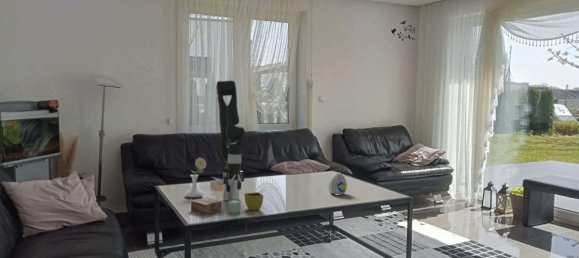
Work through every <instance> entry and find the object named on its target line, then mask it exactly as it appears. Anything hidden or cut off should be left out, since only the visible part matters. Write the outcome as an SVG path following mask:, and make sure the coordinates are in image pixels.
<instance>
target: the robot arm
mask: <svg viewBox="0 0 579 258" xmlns="http://www.w3.org/2000/svg"><path fill="white" fill-rule="evenodd" d="M236 86H237V85H236V82H235V80H234V79H224V80H223V79H222V80H218V81H217V82H216V94H217V100H218V111H219V112H218V114H219V127H220V128H219V129H220V130H219V131H220V139H221V140H220V142H221V143H220V155H221V159H222V162H227V166H225V167H224V168H223V182H222V185H223V187H222V188H223V191H222V200H224V201H227V202H229V201H232V200H236V201H239V199H240V190H242V183H243V182H245V172H244V171H243V170H242V145H243V141H244V138H245V133H246V131H245V128H244V127H243V126H241V125H239V126H237V125H238V124H239V123H240V118H239V112H238V96H237V87H236ZM227 96H231V97H230V101H229V103H228V104H227V102H225V99H224V97H227ZM229 140H236V141H235V142H231V143H228V142H229Z"/></svg>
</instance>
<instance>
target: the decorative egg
mask: <svg viewBox="0 0 579 258" xmlns="http://www.w3.org/2000/svg"><path fill="white" fill-rule="evenodd" d="M347 188H348V184H347V178H346V177H345V175H344V174H342V173H341V172H335V173H333V174H332V176H331V177H330V179H329V181H328V190H329V191H328V192H329V193H330V194H331V193H332V194H344V195H345V193H346V192H347ZM332 194H331V195H332Z"/></svg>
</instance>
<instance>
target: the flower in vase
mask: <svg viewBox="0 0 579 258" xmlns="http://www.w3.org/2000/svg"><path fill="white" fill-rule="evenodd" d="M194 164H195V167H196V168H197V171H194V170H190V171H191V173H194V174H190V177H191V179H192V186H191V187H190V189H188V190H187V191H186V192H185V193H184V194H185V196H186V197H188V198H201V197H202V196H204V191H202V190H201V189H200V188H199V187H197V180H198V177H199V174H203V173H204V172H205V171H204V169H206V167H207V162H206V160H205V159H204V158H202V157H198V158H197V159H195V162H194ZM197 173H199V174H197Z"/></svg>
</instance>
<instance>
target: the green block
mask: <svg viewBox="0 0 579 258" xmlns="http://www.w3.org/2000/svg"><path fill="white" fill-rule="evenodd" d="M227 213H230V214H238V213H241V201H239V200H232V201H227Z"/></svg>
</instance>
